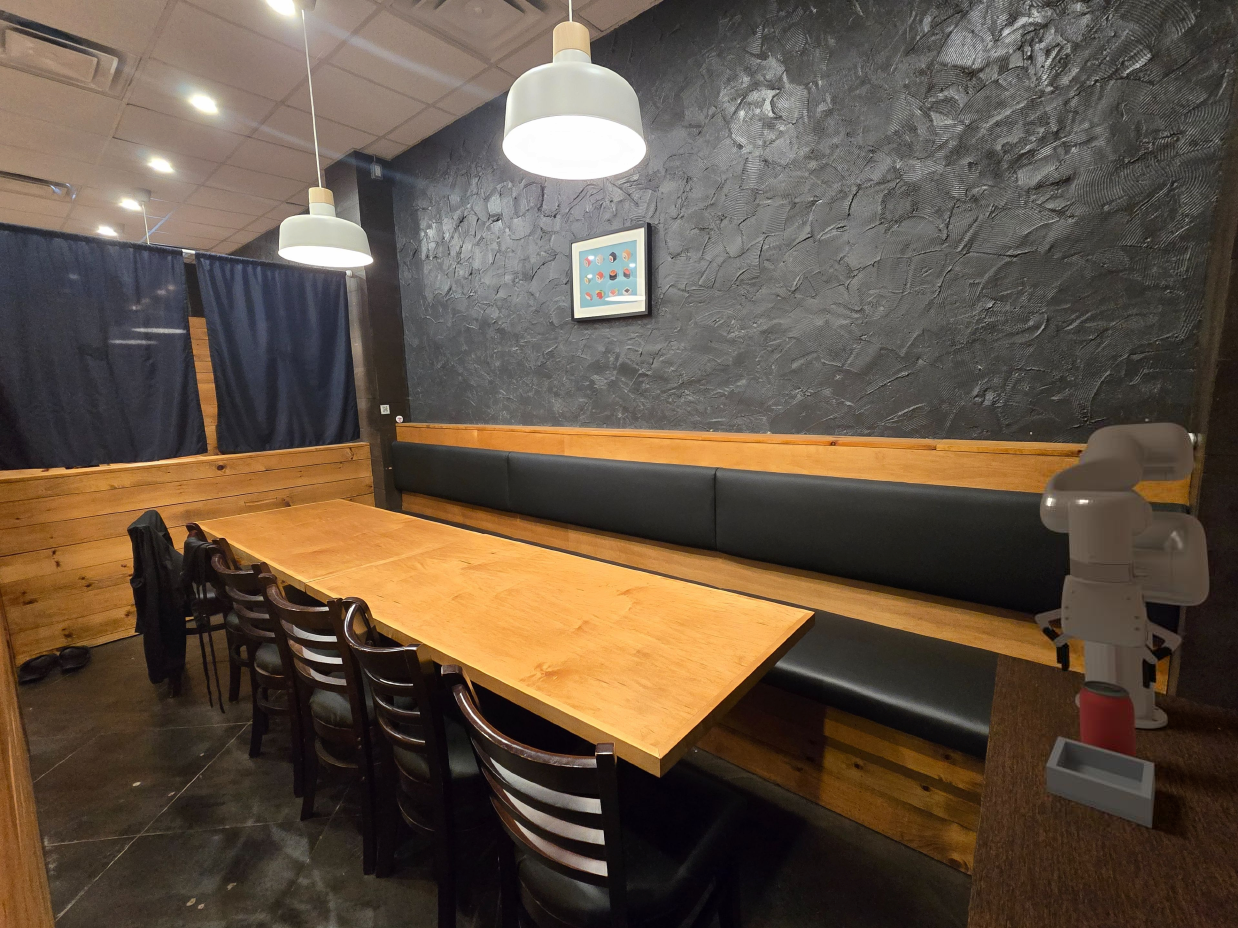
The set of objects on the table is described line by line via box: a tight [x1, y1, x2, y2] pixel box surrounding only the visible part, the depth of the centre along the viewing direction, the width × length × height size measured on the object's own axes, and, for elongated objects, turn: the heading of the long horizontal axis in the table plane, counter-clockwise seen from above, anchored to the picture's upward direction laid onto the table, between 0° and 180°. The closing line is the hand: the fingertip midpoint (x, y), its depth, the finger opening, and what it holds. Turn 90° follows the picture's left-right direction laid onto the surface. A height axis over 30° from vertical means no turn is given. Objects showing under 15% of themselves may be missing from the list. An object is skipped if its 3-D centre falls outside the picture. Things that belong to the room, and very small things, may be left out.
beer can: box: [1078, 681, 1137, 758], centre depth 85 cm, size 7×7×12 cm
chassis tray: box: [1045, 735, 1156, 829], centre depth 78 cm, size 11×11×4 cm
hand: (1104, 677), depth 84 cm, fingers open, 9 cm apart
